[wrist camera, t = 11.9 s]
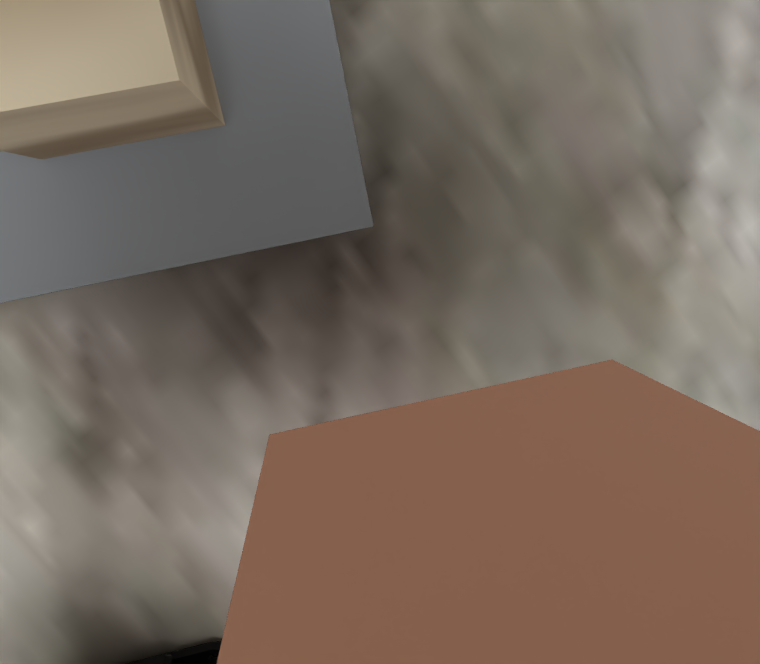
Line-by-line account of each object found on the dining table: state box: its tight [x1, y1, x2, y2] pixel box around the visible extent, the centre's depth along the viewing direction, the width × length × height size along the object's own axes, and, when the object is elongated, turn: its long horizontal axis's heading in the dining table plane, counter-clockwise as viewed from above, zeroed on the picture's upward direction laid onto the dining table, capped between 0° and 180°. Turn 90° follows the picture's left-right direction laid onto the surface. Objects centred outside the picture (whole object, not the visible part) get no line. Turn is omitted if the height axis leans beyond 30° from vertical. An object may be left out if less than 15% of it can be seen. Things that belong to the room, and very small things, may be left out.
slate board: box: [0, 0, 374, 303], centre depth 15 cm, size 12×12×3 cm
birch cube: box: [0, 0, 225, 159], centre depth 12 cm, size 5×5×5 cm
